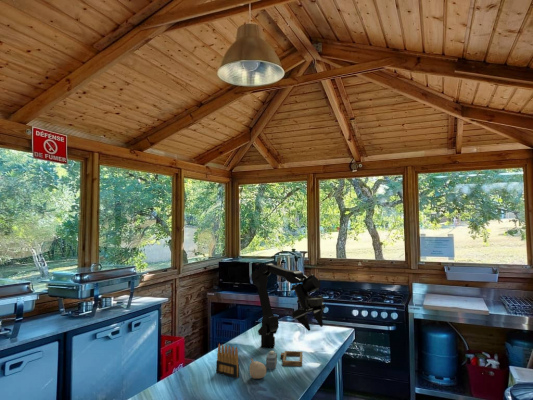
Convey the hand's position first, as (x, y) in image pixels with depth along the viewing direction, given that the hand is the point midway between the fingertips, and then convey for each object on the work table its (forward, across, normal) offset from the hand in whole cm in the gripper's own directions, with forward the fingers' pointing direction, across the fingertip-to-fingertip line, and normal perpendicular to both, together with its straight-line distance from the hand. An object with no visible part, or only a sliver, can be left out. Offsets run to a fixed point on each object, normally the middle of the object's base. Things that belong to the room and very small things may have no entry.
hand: (315, 328), depth 171 cm
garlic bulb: (+11, -33, +10) cm, 36 cm away
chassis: (+9, -7, +14) cm, 18 cm away
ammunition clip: (+5, -40, +20) cm, 45 cm away
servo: (+8, -19, +16) cm, 26 cm away
